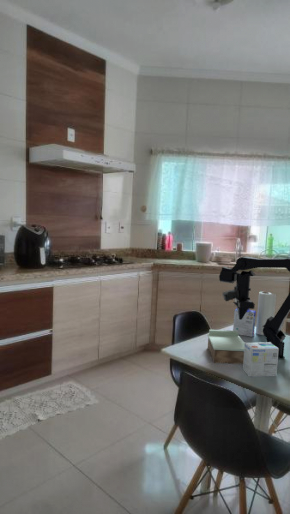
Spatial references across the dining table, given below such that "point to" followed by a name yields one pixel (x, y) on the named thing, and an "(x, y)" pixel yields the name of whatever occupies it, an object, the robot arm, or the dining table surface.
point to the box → (226, 355)
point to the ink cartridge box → (245, 323)
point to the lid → (226, 340)
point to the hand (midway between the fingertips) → (240, 319)
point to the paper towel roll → (265, 310)
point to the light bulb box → (260, 359)
